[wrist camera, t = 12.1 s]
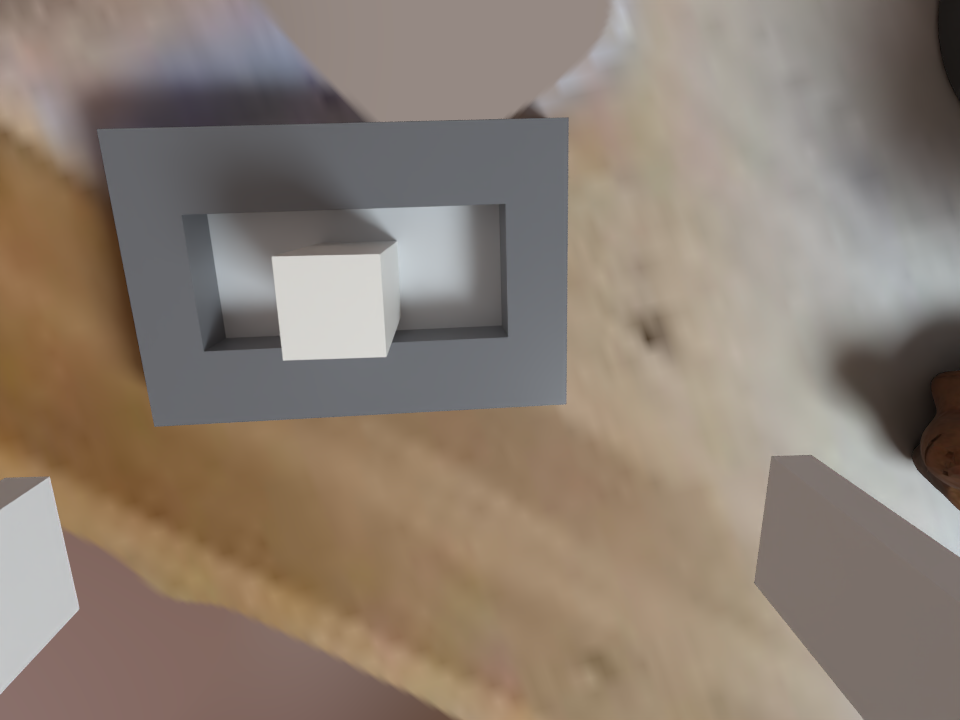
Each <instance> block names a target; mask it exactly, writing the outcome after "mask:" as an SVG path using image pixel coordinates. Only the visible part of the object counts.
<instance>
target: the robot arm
mask: <svg viewBox="0 0 960 720" xmlns="http://www.w3.org/2000/svg"><path fill="white" fill-rule="evenodd" d="M939 38H940V46H941V53H942V57H943V62H944V65H945V69H946V72H947V75H948V78H949V80H950V83H951V85H952V87H953V89H954V91H955V93H956V94H957V96H958V98H959V100H960V0H940V6H939ZM754 583H755V585H756V586H757V587H758V588H759V590H760V591H761V592H762V593H763V595H764V596H765V597H766V598H767V600H768V601H769V602H770V603H771V605H772V606H773V607H774V608H775V610H776V611H777V612H778V613H779V614H780V616H781V617H782V618H783V619H784V621H785V622H786V623H787V624H788V626H789V627H790V628H791V629H792V631H793V632H794V633H795V634H796V636H797V637H798V638H799V639H800V641H801V642H802V643H803V644H804V646H805V647H806V648H807V649H808V651H809V652H810V653H811V654H812V656H813V657H814V658H815V659H816V661H817V662H818V663H819V664H820V665H821V667H822V668H823V669H824V670H825V672H826V673H827V674H828V675H829V677H830V678H831V679H832V680H833V682H834V683H835V684H836V685H837V687H838V688H839V689H840V690H841V692H842V693H843V694H844V695H845V697H846V698H847V699H848V700H849V702H850V703H851V704H852V705H853V707H854V708H855V709H856V710H857V711H858V713H859V714H860V715H861V716H862V718H863V719H864V720H960V557H958V556H957V555H955V554H954V553H953V552H951V551H950V550H948V549H947V548H945V547H944V546H942V545H941V544H939V543H938V542H937V541H935V540H934V539H932V538H931V537H929V536H928V535H926V534H925V533H924V532H922V531H921V530H919V529H918V528H916V527H915V526H913V525H912V524H910V523H909V522H908V521H906V520H905V519H903V518H902V517H900V516H899V515H897V514H896V513H895V512H893V511H892V510H890V509H889V508H887V507H886V506H884V505H883V504H881V503H880V502H879V501H877V500H876V499H874V498H873V497H871V496H870V495H868V494H867V493H866V492H864V491H863V490H861V489H860V488H858V487H857V486H855V485H854V484H852V483H851V482H850V481H848V480H847V479H845V478H844V477H842V476H841V475H839V474H838V473H837V472H835V471H834V470H832V469H831V468H829V467H828V466H826V465H825V464H823V463H822V462H821V461H819V460H818V459H816V458H815V457H813V456H812V455H797V456H771V464H770V471H769V478H768V486H767V493H766V500H765V508H764V515H763V522H762V530H761V537H760V544H759V552H758V559H757V566H756V574H755V581H754ZM78 610H79V605H78V600H77V595H76V591H75V587H74V582H73V578H72V573H71V569H70V565H69V560H68V556H67V551H66V547H65V542H64V538H63V533H62V529H61V525H60V520H59V516H58V511H57V507H56V502H55V498H54V494H53V489H52V485H51V480H50V477H20V478H4V479H2V480H1V481H0V694H1V693H2V692H3V690H5V689H6V687H7V686H8V685H9V684H10V683H11V682H12V681H13V680H14V679H15V678H16V676H18V675H19V673H20V672H21V671H22V670H23V669H24V668H25V667H26V666H27V665H28V664H29V663H30V661H31V660H32V659H33V658H34V657H35V656H36V655H37V654H38V653H39V652H40V651H41V650H42V648H43V647H45V645H46V644H47V643H48V642H49V641H50V640H51V639H52V638H53V637H54V636H55V635H56V633H58V631H59V630H60V629H61V628H62V627H63V626H64V625H65V624H66V623H67V621H69V620H70V618H71V617H72V616H73V615H74V614H75V613H76V612H77V611H78Z"/></svg>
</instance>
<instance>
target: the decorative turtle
mask: <svg viewBox="0 0 960 720" xmlns="http://www.w3.org/2000/svg"><path fill="white" fill-rule="evenodd" d="M931 391H932V396H933V399H934V402H935V405H936V409H937V412H936V415H935V417H934V419H933V420H932V421H931V422H930V424H929V425H928V426H927V427H926V429H925V430H924V432H923V434H922V437H921V442H920V445H918V446H917V447H916V448H915V449H914V451H913V454H912V459H913V462H914V464H915V466H916V468H917V470H918V471H919V472H920V473H921V474H922V475H923V476H924V477H925V478H926V479H927V480H928V481H929V482H930V483H931V484H932V485H933V486H934V487H935V488H936V489H938V490H939V491H940V492H941V493H942V494H943V495H944V496H945V497H946V498H947V499H948V500H949V501H950V502H951V503H952V504H953V505H954V506H955V507H956V508H957V509H959V510H960V371H948V372H944V373H940V374H938V375H937V376H936V377H934V379H933V380H932V383H931Z"/></svg>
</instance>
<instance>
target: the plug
mask: <svg viewBox="0 0 960 720" xmlns="http://www.w3.org/2000/svg"><path fill="white" fill-rule="evenodd" d="M272 266H273V275H274V284H275V293H276V302H277V311H278V320H279V329H280V338H281V347H282V356H283V361H285V360H315V359H344V358H374V357H387V354H388V352H389V349H390V346H391V343H392V340H393V337H394V335H395V332H396V329H397V326H398V323H399V321H400V318H401V301H400V282H399V263H398V245H397V241H374V242H326V243H317V244H314V245H310V246H307V247H303V248H300V249H296V250H293V251H289V252H286V253H282V254H279V255H275V256H272Z"/></svg>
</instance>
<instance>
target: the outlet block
mask: <svg viewBox="0 0 960 720" xmlns="http://www.w3.org/2000/svg"><path fill="white" fill-rule="evenodd" d="M97 133H98V138H99V143H100V148H101V154H102V159H103V164H104V169H105V174H106V179H107V184H108V190H109V195H110V200H111V205H112V210H113V215H114V220H115V226H116V231H117V236H118V241H119V246H120V251H121V256H122V262H123V267H124V272H125V277H126V282H127V287H128V293H129V298H130V303H131V308H132V313H133V318H134V323H135V329H136V334H137V339H138V344H139V349H140V354H141V359H142V365H143V370H144V375H145V380H146V385H147V390H148V395H149V401H150V406H151V411H152V416H153V421H154V426H155V427H156V426H174V425H193V424H211V423H230V422H248V421H266V420H285V419H303V418H322V417H340V416H358V415H377V414H395V413H414V412H432V411H450V410H469V409H487V408H506V407H524V406H542V405H561V404H566V378H567V247H568V118H530V119H489V120H448V121H407V122H366V123H325V124H284V125H243V126H202V127H161V128H120V129H97ZM374 241H397V245H398V263H399V282H400V301H401V318H400V321H399V323H398V326H397V329H396V332H395V335H394V337H393V340H392V343H391V346H390V349H389V352H388V354H387V357H374V358H344V359H315V360H285V361H283V356H282V347H281V338H280V329H279V320H278V311H277V302H276V293H275V284H274V275H273V266H272V256H275V255H279V254H282V253H286V252H289V251H293V250H296V249H300V248H303V247H307V246H310V245H314V244H317V243H326V242H374Z"/></svg>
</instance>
